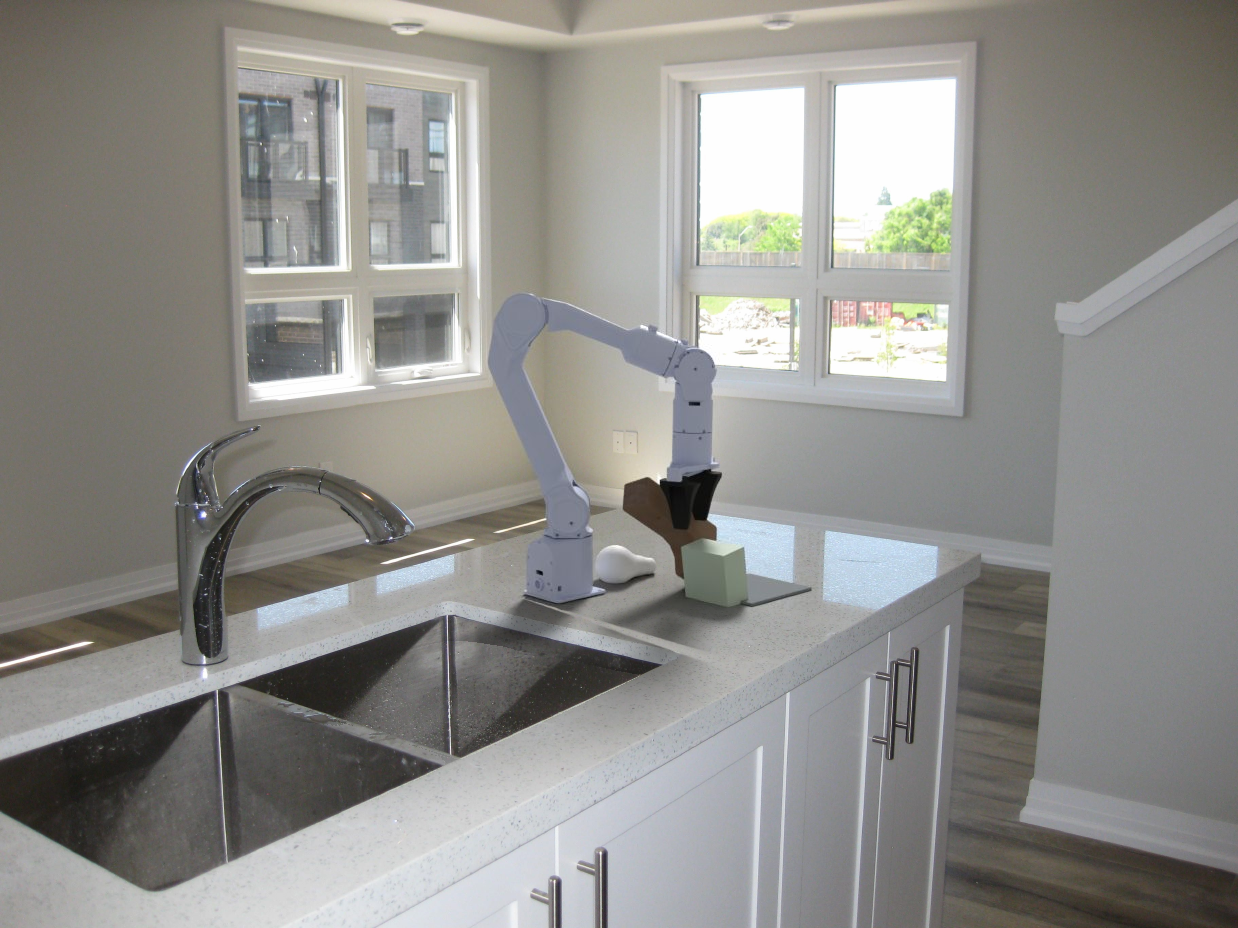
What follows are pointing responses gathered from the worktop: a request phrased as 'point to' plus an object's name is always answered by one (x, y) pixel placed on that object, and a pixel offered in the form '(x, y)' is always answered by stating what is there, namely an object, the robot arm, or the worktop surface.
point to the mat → (769, 589)
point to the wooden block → (663, 518)
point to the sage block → (715, 572)
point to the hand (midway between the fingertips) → (690, 524)
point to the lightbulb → (621, 565)
